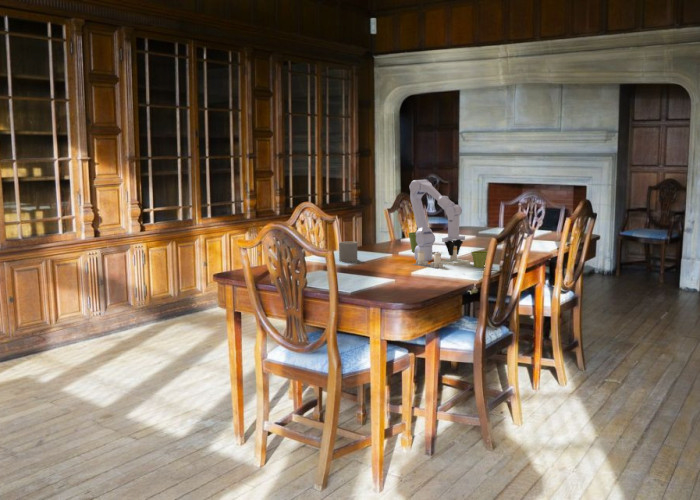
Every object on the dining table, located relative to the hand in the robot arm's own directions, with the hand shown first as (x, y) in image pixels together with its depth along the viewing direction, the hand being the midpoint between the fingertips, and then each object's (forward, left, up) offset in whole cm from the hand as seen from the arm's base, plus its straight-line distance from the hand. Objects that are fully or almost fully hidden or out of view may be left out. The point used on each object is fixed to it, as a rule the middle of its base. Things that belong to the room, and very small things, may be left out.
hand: (453, 254), depth 371 cm
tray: (0, 0, -6) cm, 6 cm away
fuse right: (+5, -16, -4) cm, 17 cm away
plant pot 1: (-51, +21, -6) cm, 55 cm away
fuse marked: (0, 0, -2) cm, 2 cm away
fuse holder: (-1, -16, -6) cm, 17 cm away
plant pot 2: (+17, +2, -6) cm, 18 cm away
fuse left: (-7, -16, -4) cm, 18 cm away
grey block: (-51, -29, -6) cm, 59 cm away
